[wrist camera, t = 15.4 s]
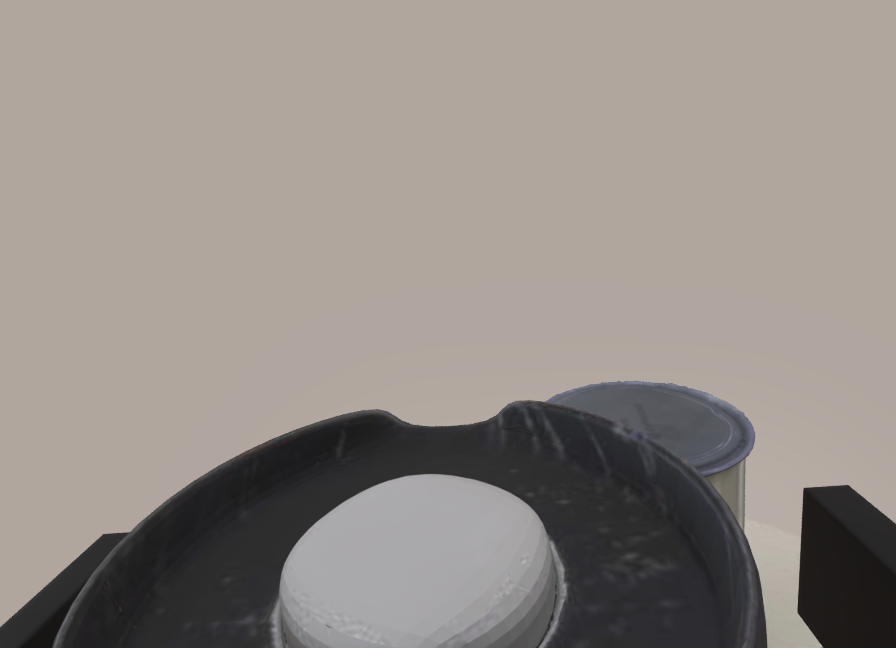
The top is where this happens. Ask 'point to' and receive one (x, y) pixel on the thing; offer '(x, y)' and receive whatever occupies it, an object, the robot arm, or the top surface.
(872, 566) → the robot arm
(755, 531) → the top surface
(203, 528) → the travel mug
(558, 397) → the milk frother
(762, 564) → the top surface
